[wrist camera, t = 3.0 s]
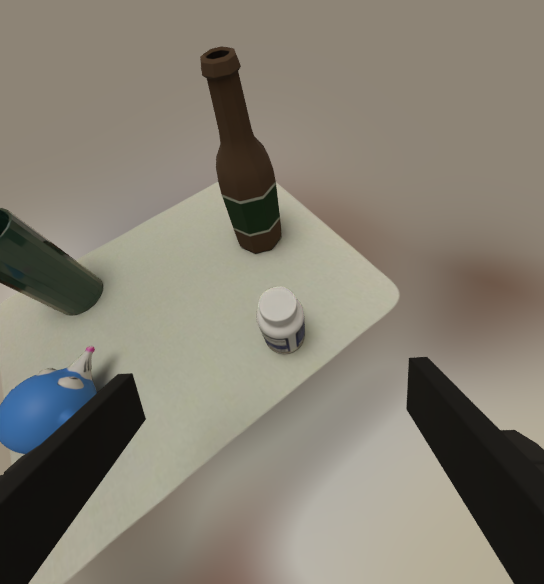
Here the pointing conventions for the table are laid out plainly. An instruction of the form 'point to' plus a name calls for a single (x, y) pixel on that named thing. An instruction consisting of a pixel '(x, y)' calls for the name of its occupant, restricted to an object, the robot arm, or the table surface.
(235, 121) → the beer bottle
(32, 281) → the cup
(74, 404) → the blue mole toy
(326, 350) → the table surface
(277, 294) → the pill bottle
